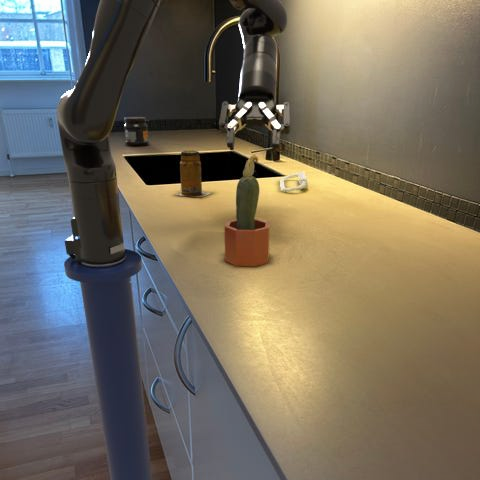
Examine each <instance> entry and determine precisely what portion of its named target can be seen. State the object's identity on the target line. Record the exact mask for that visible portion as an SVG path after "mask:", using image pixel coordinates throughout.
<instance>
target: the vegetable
mask: <svg viewBox="0 0 480 480" xmlns="http://www.w3.org/2000/svg"><path fill="white" fill-rule="evenodd" d="M247 159H248V160H246V162H245V166H244V169H243V171H242V177H241V178H240V179H239V180H238V181H237V185H236V190H235V191H236V192H235V214H236V215H235V217H236V219H237V229H238V230H255V226H254V222H255V219H256V218H255V217H256V213H257V209H258V204H259V198H260V184H259V180H258V179H257V178H256V177H255V176H253V175H254V174H255V173H254V172H255V163H256V164H257V163H258V162H259V158H258V156H257V155H256V154H255V153H254V154H253V155H250V157H248V158H247ZM236 219H235V220H236Z"/></svg>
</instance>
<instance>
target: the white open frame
mask: <svg viewBox="0 0 480 480" xmlns="http://www.w3.org/2000/svg"><path fill="white" fill-rule="evenodd" d="M293 178H297V179H298V183H299V185H296V186H293V187H286V184H285V181H286V180H290V179H293ZM279 183H280V184H279V185H280V191H281V192H282V193H290V192H295V191H298V190H299V191H300V190H303V189H306V188H309V183H308V179H307V175H306V172H305V171H304V170H303V171H299V172H298V171H297V172H296V173H293V174H289V175H285V176H283V177H281V178H280V179H279Z"/></svg>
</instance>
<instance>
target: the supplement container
mask: <svg viewBox="0 0 480 480" xmlns="http://www.w3.org/2000/svg"><path fill="white" fill-rule="evenodd" d="M146 122H147V117H145V116H126V117H124V123H125V124H123V125H124V126H123V129H124V137H125V145H127V146H128V147H134V148H135V147H137V148H138V147H146V146H148V145H149V144H150V141H149V133H148V132H149V131H148V124H147V123H146Z"/></svg>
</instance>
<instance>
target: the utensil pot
mask: <svg viewBox="0 0 480 480" xmlns="http://www.w3.org/2000/svg"><path fill="white" fill-rule="evenodd" d="M254 226H255V230H238V229H237V219H232V220H231V219H230V220H227V221H226V223H225V225H224V262H227V263H229V264H231V265H233V266H235V267H254V268H255V267H258V266H261V265H264V264H268V263H269V259H270V238H271V237H270V236H271V235H270V234H271V233H270V232H271V222H269V221H266V220H262V219H260V218H255V222H254Z"/></svg>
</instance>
